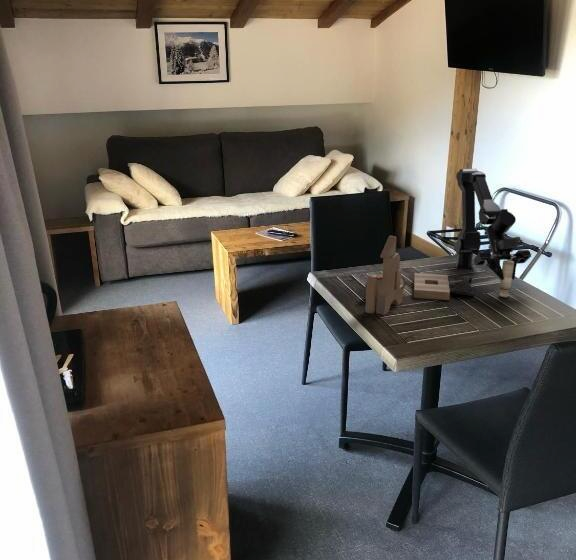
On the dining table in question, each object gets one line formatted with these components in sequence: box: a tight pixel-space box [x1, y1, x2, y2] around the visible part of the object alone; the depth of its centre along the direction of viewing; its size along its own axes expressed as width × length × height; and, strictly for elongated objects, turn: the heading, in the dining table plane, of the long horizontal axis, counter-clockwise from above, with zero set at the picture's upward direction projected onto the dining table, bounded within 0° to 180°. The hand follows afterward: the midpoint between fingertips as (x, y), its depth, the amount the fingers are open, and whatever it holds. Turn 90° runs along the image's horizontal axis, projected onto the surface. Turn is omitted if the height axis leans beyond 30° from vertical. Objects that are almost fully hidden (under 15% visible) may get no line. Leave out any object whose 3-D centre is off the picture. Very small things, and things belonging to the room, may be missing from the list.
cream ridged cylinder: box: [498, 260, 514, 298], centre depth 200 cm, size 4×4×12 cm
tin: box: [364, 273, 406, 300], centre depth 201 cm, size 15×3×8 cm, turn 111°
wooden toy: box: [365, 235, 404, 316], centre depth 189 cm, size 16×7×25 cm, turn 144°
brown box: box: [413, 272, 451, 301], centre depth 208 cm, size 18×12×3 cm, turn 168°
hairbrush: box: [450, 275, 476, 297], centre depth 211 cm, size 8×4×25 cm
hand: (508, 279), depth 198 cm, fingers closed on cream ridged cylinder, 4 cm apart
